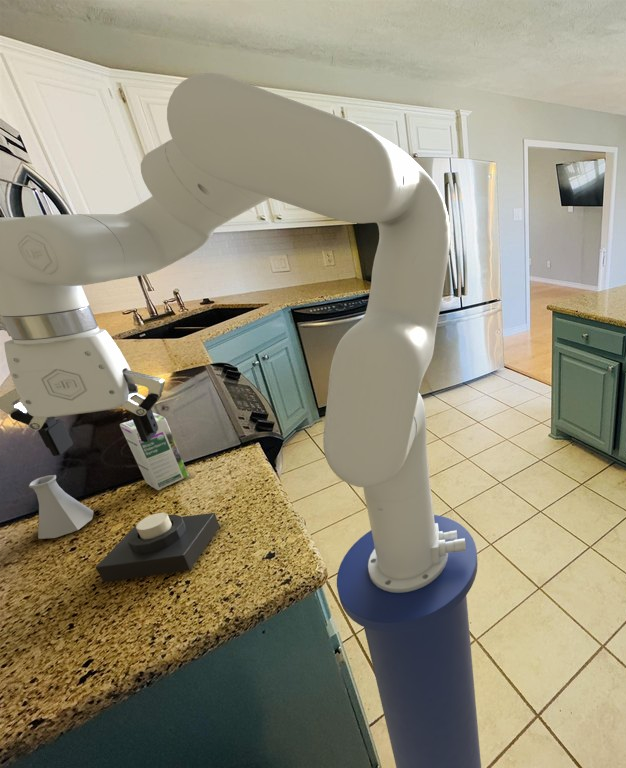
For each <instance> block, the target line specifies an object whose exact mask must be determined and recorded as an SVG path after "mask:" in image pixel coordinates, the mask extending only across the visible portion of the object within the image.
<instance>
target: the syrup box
mask: <svg viewBox="0 0 626 768" xmlns="http://www.w3.org/2000/svg"><path fill="white" fill-rule="evenodd" d="M153 415H154V417H155V420H156V422H157V425H158V431H157V433H156V434H155V435H154V436H153V438H152V439H151V440H150V441H148V442H143V441H141V438H140V436H139V434H138V431H137V429H136V427H135V424H134V422H133V419H131V420H129V421H125V422H122V423H120V424H119V427H120V429H121V432H122V433H123V436H124V437H125V440H126V442H127V444H128V446H129V448H130V451H131V453H132V455H133V457H134V460H135V462H136V464H137V467H138V468H139V470H140V472H141V475H142V477H143V479H144V482H145V483H146V484H147V485H149V486H150V487H151V488H153V489H155V490H156V491H158V492H159V491H162V489H164V488H166V487H169V486H171V485H173V484H175V483H177V482H180V481H182V480H185V479H187V478H188V477H189V472H188V471H187V468H186V465H185V464H184V463H185V462H184V461H183V458H182V456H181V453H180V451H179V448H178V446H177V443H176V441H175V439H174V435H173V434H172V431H171V429H170V426H169V424H168V421H167V419H166V418H165V417H164V416H162V415H160V414H158V413H155V412H153Z"/></svg>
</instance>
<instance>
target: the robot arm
mask: <svg viewBox="0 0 626 768" xmlns="http://www.w3.org/2000/svg"><path fill="white" fill-rule="evenodd" d="M166 121H167V127H168V131H169V134H170V137H171V139H169V140H168V141H166V142H164V143H162V144H161V145H159V146H158V147H155V148H154V149H151V150H150V151H149V152H147V153H146V154H145V155H144V156H143V157H142V160H141V162H140V175H141V178H142V180H143V181H144V182H143V183H144V184H145V187H146V189H147V190H148V191H149V193H150V194H151V196H150V197H149V198H148V199H146V200H144V201H143V202H140V203H139V204H137V205H136V206H134V207H132V208H130V209H128V210H126V211H124V212H121V213H117V214H116V213H115V214H114V213H113V214H111V213H77V214H76V213H75V214H39V215H31V216H25V217H24V216H23V217H22V216H21V217H19V216H18V217H17V216H15V217H13V216H12V217H11V216H9V217H4V216H3V217H0V331H5V332H6V333H7V335H8V336H9V337H11V339H9V340H6V341H4V343H3V344H4V345H3V346H4V352H5V357H6V363H7V367H8V371H9V374H10V377H11V380H12V382H13V385H14V388H13V389H12V390H10V391H8V392H7V393H5V394H3V395H1V396H0V410H1V411H3V412H4V413H5V414H6V415H9V416H10V418H11V419H12V420H14V421H17V422H19V423H21V424H24V425H26V426H28V428H29V429H30V430H32V431H37V432H38V434H39V436H40V438H41V440H42V442H43V443H44V446H45V447H46V448H47V449H49V452H50V453H51V455H52V456H53V457H57V456H58V457H59V456H60V455H62V454H64V453H65V452H66V451H67V450H68V449H70V448H71V447H73V445H74V442H73V440H72V438H71V435H70V434H69V432H68V430H67V428H66V426H65V424H64V422H63V421H62V420H61V419H59V418H58V419H56V417H66V416H73V415H80V414H89V413H95V412H103V411H110V410H115V409H118V408H123V409H125V410H127V411H129V412H131V413H133V414H134V416H133V417H132V420H133V422H134V424H135V427H136V429H137V431H138V434H139V436H140V438H141V441H143V442H148V441H150V440H151V439H152V438H153V436H154V435H155V434H156V433H157V431H158V425H157V422H156V420H155V417H154V415H153V413H154V412H153V410H152V409H153V407H155V405H156V404H157V402H158V401H160V399H161V398H162V396H163V395H162V393H163V391H164V387H165V384H166V381H165V379H164V378H162V377H158V376H153V375H149V374H146V373H141V372H137V371H133V370H131V367H130V365H129V363H128V362H127V360H126V358H125V356H124V354H123V353H122V351H121V350H120V348H119V347H118V345H117V343H116V341H114V339H113V338H112V336H111V335H110V334H109V333H108V331H107V330H106V329H105V328H100V327H99V325H98V323H97V320H96V317H95V315H94V313H93V310H92V308H91V306H90V302H89V301H88V298H87V295H86V294H85V291H84V288H83V286H88V285H94V284H101V283H106V282H110V281H115V280H121V279H122V280H123V279H127V278H134V277H140V276H146V275H149V274H153V273H156V272H158V271H161V270H162V269H165V268H167V267H168V266H171V265H172V264H174V263H176V262H178V261H180V260H182V259H183V258H185V257H187V256H189V255H191V254H193V253H194V252H195V251H197V250H199V249H200V248H201V247H203V246H204V245H205V244H206V243H207V242H208V240H209V239H210V238H212V236H213V235H214V233H215V231H216V229H217V228H219V227H221V226H223V225H225V223H228V222H229V221H231V220H233V219H235V218H237V217H239V216H240V215H242V214H244V213H246V212H247V211H249V210H251V209H253V208H255V207H257V206H258V205H260V204H262V203H264V202H266V201H268V200H269V199H272V200H276V201H279V202H282V203H285V204H287V205H291V206H294V207H297V208H300V209H302V210H305V211H309V212H310V213H311V212H312V213H315V214H317V215H321V216H323V217H327V218H330V219H333V220H336V221H341V222H346V223H351V224H372V223H373V224H374V223H375V224H377V227H378V233H379V235H378V237H379V239H378V244H377V248H376V252H375V256H374V259H373V265H372V270H371V283H370V289H369V295H368V296H369V297H368V301H367V306H366V310H365V313H364V316H363V317H362V318H361V319H360V320H359V321H357V323H355V324H354V325H353V326H352V327H350V328H349V329H348V330H347V331H346V332H345V333H344V334H343V336H342V337H341V339H340V340H339V342H338V343H337V346H336V348H335V351H334V353H333V356H332V360H331V364H330V370H329V379H328V387H327V397H326V407H325V418H324V425H323V426H324V428H323V441H322V443H323V444H322V445H323V453H324V456H325V459H326V460H325V461H326V462H327V464H328V466H329V468H330V469H331V471H332V472H333V473H334V474H335V476H336V477H337V478H339V479H340V480H341V481H342V482H344V483H346V484H348V485H350V486H353V487H358V488H363V494H364V500H365V505H366V510H367V514H368V515H367V516H368V520H369V526H370V531H372V536H373V541H374V546H375V549H374V550H373V552H372V554H371V555H370V558H369V561H368V570H369V575H370V578H371V580H372V581H373V583H374V584H375V585H376V586H377V587H379V588H381V589H382V590H385V591H388V592H394V593H403V592H410V591H414V590H417V589H419V588H422V587H424V586H426V585H427V584H429V583H431V582H432V581H433V580H434V579H436V578H437V577H438V576H439V575H440V573H441V572H442V571H443V569H444V567H445V565H446V563H447V559H448V553H450V552H462V551H466V546H465V538H463V539H457V530H456V531H449V532H445V533H443V532H442V531H439V528H438V523H435V521H434V515H435V513H434V505H433V497H432V495H433V494H432V488H431V480H430V478H431V477H430V476H431V475H430V468H429V458H428V444H427V443H428V442H427V439H428V438H427V413H426V406H425V403H424V399H423V397H422V395H421V393H420V389H421V385H422V382H423V379H424V376H425V374H426V372H427V370H428V368H429V365H430V364H431V362H432V359H433V355H434V350H435V342H436V334H437V329H438V327H437V326H438V322H439V317H440V316H439V315H440V311H441V305H442V301H443V294H444V286H445V281H446V274H447V271H448V270H447V269H448V265H449V264H448V263H449V256H450V250H451V249H450V248H451V227H450V218H449V213H448V210H447V205H446V203H445V200H444V198H443V196H442V194H441V192H440V190H439V187H438V186H437V185H436V183H435V181H434V180H433V178H432V177H431V176H430V175H429V174H428V172H426V171H425V169H424V168H423V167H422V166H421V165H420V164H419V163H418V162H417V161H416V160H415V159H414V158H413V157H412V156H410V154H408V153H407V152H406V151H404V150H403V149H402V148H401V147H399V146H397V145H396V144H394V143H393V142H391V141H390V140H388V139H387V138H384V137H383V136H381V135H379V134H378V133H376V132H374V131H373V130H371V129H370V128H367V127H366V126H363V125H362V124H359V123H358V122H354V121H352V120H350V119H347V118H345V117H342V116H339V115H336V114H333V113H331V112H327V111H324V110H322V109H319V108H316V107H313V106H310V105H308V104H305V103H302V102H300V101H297V100H295V99H291V98H288V97H285V96H284V95H283V96H282V95H280V94H278V93H274V92H271V91H268V90H266V89H264V88H261V87H259V86H256V85H253V84H250V83H248V82H246V81H243V80H240V79H239V78H236V77H234V76H230V75H229V74H228V75H227V74H224V73H219V72H205V73H204V72H203V73H198V74H195V75H192V76H189V77H187V78H185V79H184V80H182V81H181V82H180V83H179V84H178V85H177V86H176V87H175V88H174V89H173V91H172V93H171V95H170V97H169V99H168V103H167V107H166ZM138 386H141V387H145V388H147V389H148V391H147V392H148V393H147V396H146V397H145V396H143V395H142V394H140V393H138V392H139V388H138ZM20 401H21V402H20ZM453 539H457V540H454V541H448V542H445V540H453Z"/></svg>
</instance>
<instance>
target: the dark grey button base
mask: <svg viewBox="0 0 626 768" xmlns="http://www.w3.org/2000/svg"><path fill="white" fill-rule="evenodd" d="M167 515H168V517H169V519H170V521H171V523H172V527H171V528H170V530H168V531H167V532H165V533H163V534H162V535H160V536H157V537H154V538H152V539H146V540H143V539H141V537H140V535H139V533H138V531H137V529H136V525H137V524H138V523H139V522H140V521H138V522H137V523H136V524H135V525H134V526H133V527H132V528H131V529H130V531H128V533H127V534H126V535H125V536H124V537H123V538H121V540H120V541H119V542H118V543H117V544H116V545H115V546H114V547H113V548H112V549H111V550H110V551H109V552H108V554H106V555H105V556H104V558H103V559H102V560H101V561H100V562H99V563H98V564H97V565H96V566H95V570H96V571H97V573H98V575H99V577H100V579H101V581H102V582H103V583H111V582H118V581H125V580H132V579H139V578H146V577H152V576H153V577H154V576H161V575H166V574H167V575H168V574H174V573H175V574H176V573H180V572H188V571H191V570H192V568H193V566H194V565H195V564H196V563H197V561H198V560H199V558H200V557H201V555H202V554H203V552H204V551H205V549H206V547H207V546H208V545H209V543H211V540H212V539H213V537H214V536H215V534H216V533H217V531H218V530H219V529H220V524H219V521H218V518H217V516H216V513H215V512H209V513H201V514H193V515H184V516H181V515H178V514H175V513H173V514H167Z"/></svg>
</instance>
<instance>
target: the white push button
mask: <svg viewBox="0 0 626 768" xmlns="http://www.w3.org/2000/svg"><path fill="white" fill-rule="evenodd" d="M168 515H169V514H168V513H166V512H158V513H157V512H156V513H154V514H150V515H148V516H146V517H144V518H143V519H141V520H139V521H138V522H139V523H138V522H137V523H138V524H137V523H136V524H137V525H136V524H135V525H136V529H137V531H138V533H139V535H140V537H141V539H143V540H146V539H152V538H154V537H157V536H160V535H162V534H163V533H165V532H167V531H168V530H170V528H171V527H172V523H171V521H170V519H169V517H168Z"/></svg>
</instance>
